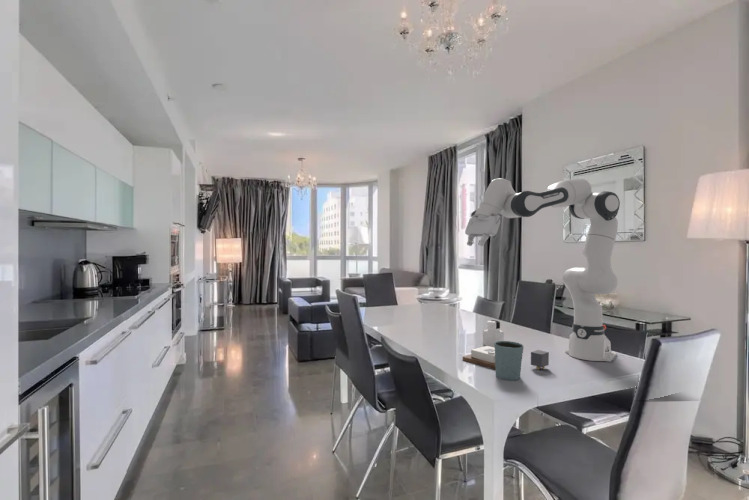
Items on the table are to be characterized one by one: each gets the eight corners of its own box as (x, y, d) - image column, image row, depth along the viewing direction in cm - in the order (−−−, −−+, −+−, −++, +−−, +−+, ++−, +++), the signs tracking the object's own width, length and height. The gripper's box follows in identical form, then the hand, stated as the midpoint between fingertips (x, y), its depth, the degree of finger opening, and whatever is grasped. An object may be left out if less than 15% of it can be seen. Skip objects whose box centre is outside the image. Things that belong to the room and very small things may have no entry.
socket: (486, 352, 173) (486, 344, 173) (509, 358, 165) (509, 349, 165) (471, 356, 166) (471, 348, 166) (493, 363, 158) (493, 354, 158)
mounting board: (485, 353, 177) (485, 350, 177) (518, 362, 164) (518, 358, 164) (462, 360, 167) (462, 356, 167) (495, 369, 154) (495, 365, 154)
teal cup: (490, 372, 151) (490, 340, 151) (515, 371, 152) (516, 340, 152) (500, 381, 141) (500, 347, 141) (528, 380, 142) (528, 347, 142)
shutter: (489, 350, 168) (489, 348, 168) (495, 352, 166) (495, 350, 166) (484, 352, 166) (484, 350, 166) (490, 353, 163) (490, 351, 163)
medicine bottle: (491, 342, 197) (491, 318, 197) (503, 345, 192) (504, 321, 192) (482, 345, 193) (482, 320, 193) (495, 348, 187) (495, 322, 187)
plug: (540, 365, 160) (540, 349, 160) (550, 367, 157) (550, 351, 157) (530, 368, 156) (530, 352, 156) (541, 371, 153) (541, 354, 152)
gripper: (508, 216, 152) (494, 249, 151) (481, 219, 172) (469, 248, 171) (495, 209, 151) (481, 242, 150) (469, 213, 171) (457, 242, 170)
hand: (474, 245), depth 161 cm, fingers open, 8 cm apart
